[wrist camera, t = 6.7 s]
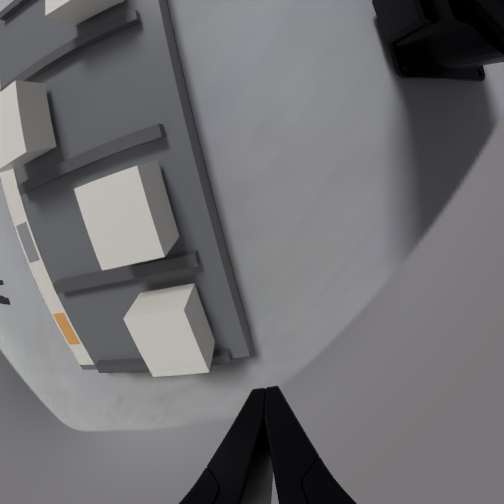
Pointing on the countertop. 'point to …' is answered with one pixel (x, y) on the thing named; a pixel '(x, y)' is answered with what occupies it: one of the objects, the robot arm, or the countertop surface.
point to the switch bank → (109, 162)
